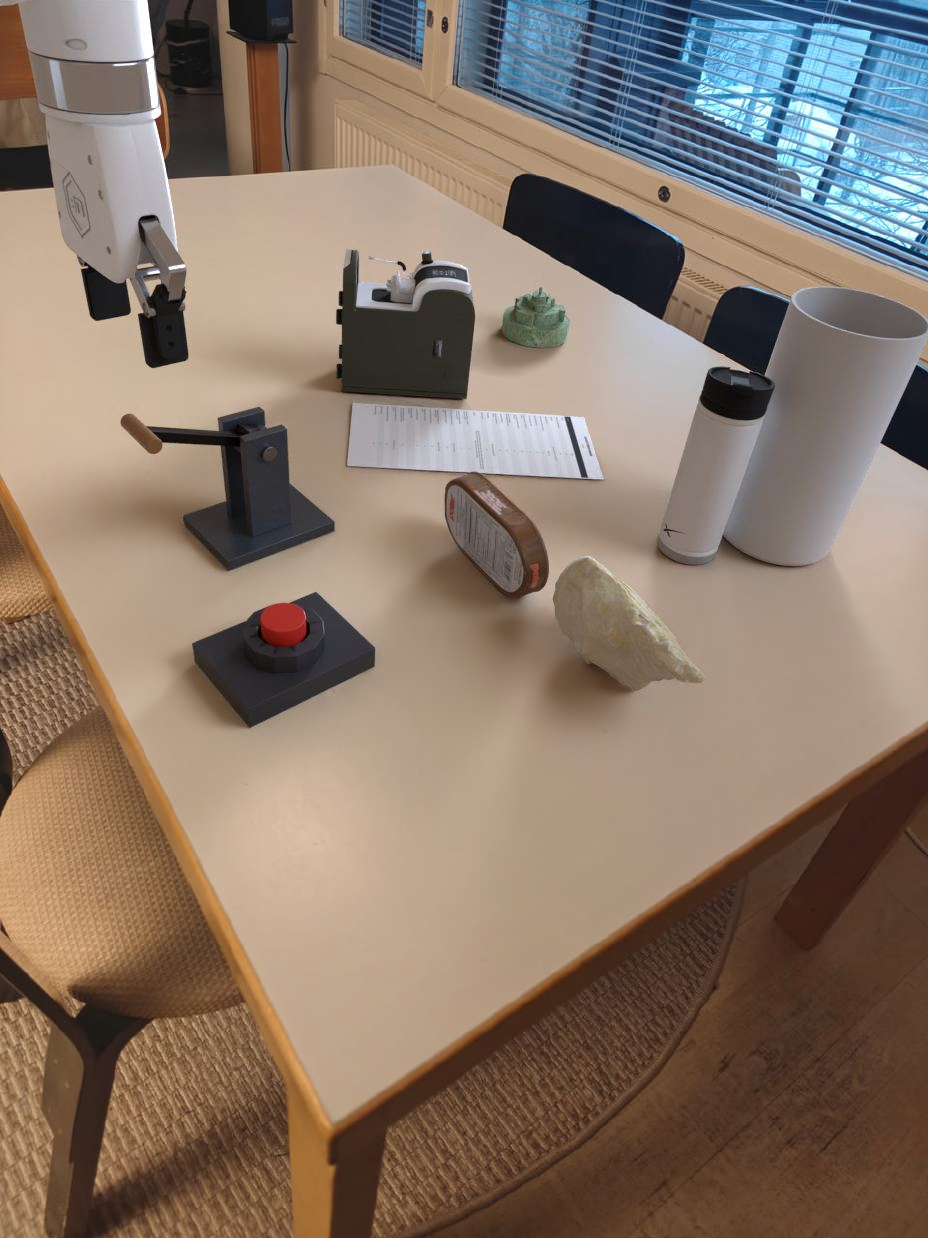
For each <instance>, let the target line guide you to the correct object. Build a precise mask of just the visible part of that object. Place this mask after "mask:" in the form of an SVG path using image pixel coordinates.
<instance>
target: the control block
mask: <svg viewBox="0 0 928 1238" xmlns="http://www.w3.org/2000/svg"><path fill="white" fill-rule="evenodd" d="M289 603H291V604H294V605H297V606H299V607H300V608H301V609H302V610H303V611H304V612H305V615H306V636H305V638H304V639H303V640H302V641H301V642H300V643H298V644H296V645H293V646H289V647H275V646H272V645H270V644H268V643H267V642H265V641H264V639H263V638H262V634H261V622H260V616H261V614H262V612H263V611H264V610H265V609H266V608H267V607H269V606H271V605H273V604H274V603H273V604H270V605H267V606H264V607H262V608H260V609H258V610H256V611H254V612H253V613H252V614H250V616H249V617H248V618H247V619H246V620H244V621H242V622H240V623H237V624H234V625H232V626H230V627H228V628H225V629H222V630H221V631H218V632H215V633H213V634H211V635H208V636H206V637H203V638H201V639H199V640H196V641H194V642H192V643H191V644H192V652H193V659H194V663H195V665H196V666H198V668H199V669H200V670H201V671H202V673H203V674H204V675H205V676H206V677H207V679H208V680H209V682H210V683H212V684H213V686H214V687H215V688H216V689H217V691H218V692H219V693H220V694H221V696H223V698H224V699H225V700H226V702H227V703H228V704H229V705H230V706H231V708H232V709H234V711H235V712H236V714H238V715H239V717H240V718H241V719H242V720H243V722H244V723H245V724H246V725H247V726H248V727H249V728H253V727H254V726H257V725H259V724H261V723H263V722H265V721H267V720H268V719H271V718H273V717H275V716H278V715H279V714H281V713H283V712H285V711H287V710H289V709H291V708H293V707H295V706H297V705H299V704H302V703H303V702H305V701H307V700H310V699H311V698H314V697H316V696H317V695H320V694H322V693H324V692H326V691H328V690H330V689H332V688H334V687H336V686H338V685H340V684H342V683H344V682H346V681H348V680H351V679H353V678H354V677H356V676H359V675H360V674H363V673H365V672H366V671H368V670H370V669H372V668H374V667H376V647H375V646H374V645H373V644H372V643H371V642H370V641H369V640H368V639H367V638H366V637H364V635H362V634H361V633H360V631H358V630H357V629H356V628H355V626H353V625H352V624H351V623H350V622H349V621H348V620H347V618H346V619H345V617H343V615H342V614H341V613H340V612H339V611H337V610H336V609H335V608H334V607H333V606H332V605H331V604H330V603H329V602H328V601H327V600H326V599H325V598H323V596H322V595H321V594H320V593H318V591H314V592H312V593H309V594H307V595H305V596H302V597H299V598H298V599H295V600H292V601H289Z"/></svg>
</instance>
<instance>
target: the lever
mask: <svg viewBox="0 0 928 1238" xmlns="http://www.w3.org/2000/svg"><path fill="white" fill-rule="evenodd" d="M265 426H266V425H265ZM265 426H264V425H259V424H246V423H238V424H237V428H236V432H228V431H219V430H213V429H212V430H210V429H196V428H180V427H167V426H166V427H165V426H152V425H151V426H150V425H145V424H144V423H143V422H142V421H141V420H140V419H139V418H138V417H137V416H136V415H135V414H133V413H126V414H124V415H123V416H122V417H121V419H120V427H122V429H124V430H125V432H127V433H128V434H129V435H130V436H131V437H132V439H133V440H135V441H136V442H137V444H138V445H140V446H141V447H142V449H144V450H145V451H146V453H148V454H151V455H157V454H158V453H160V452H161V451H162V449H163V444H180V445H182V444H183V445H197V446H199V445H201V446H214V447H215V446H218V447H220V446H233V447H234V448H235V449H236V450H237V451H238V452H239V453H241V449H240V438H239V437H240V436H243V435H246V434H250V433H253V432H257V431H260V430H264V429H267V428H268V427H267V426H266V427H265Z"/></svg>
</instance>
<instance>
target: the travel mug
mask: <svg viewBox="0 0 928 1238" xmlns="http://www.w3.org/2000/svg"><path fill="white" fill-rule="evenodd" d="M774 388H775V384H774V382H773V381H772V380H771V379H769V378H768V377H766V376H765V374H761V373H759V372H756V371H752V370H749V372H747V371H744V370H740V369H732V368H731V367H730V366H713V367H710V368H709V369H707V372H706V376H705V379H704V383H703V386H702V390H701V393H700V395H699V397H698V400H697V404H696V407H695V411H694V414H693V416H692V417H693V418H692V421H691V423H690V428H689V431H688V434H687V438H686V441H685V444H684V448H683V451H682V454H681V458H680V461H679V464H678V468H677V471H676V474H675V478H674V482H673V485H672V488H671V492H670V495H669V499H668V502H667V505H666V508H665V512H664V515H663V517H662V521H661V525H660V528H659V532H658V536H657V538H656V544H657V547H658V548H659V550H660V552H661V553H662V554H663V555H664V556H666V557H667V558H669V559H671V560H673V561H675V562H677V563H680V564H684V565H690V566H698V565H700V566H701V565H704V564H708V563H710V562H712V561H713V560H714V559H715V557H716V555H717V552H718V549H719V546H720V543H721V541H722V538H723V533H724V530H725V527H726V524H727V521H728V519H729V516H730V513H731V510H732V507H733V505H734V502H735V499H736V496H737V493H738V491H739V488H740V485H741V482H742V479H743V476H744V474H745V471H746V468H747V465H748V462H749V460H750V457H751V454H752V451H753V448H754V446H755V443H756V440H757V437H758V434H759V432H760V429H761V426H762V423H763V419H764V417H765V415H766V410H767V406H768V404H769V402H770V399H771V396H772V393H773V390H774Z"/></svg>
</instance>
